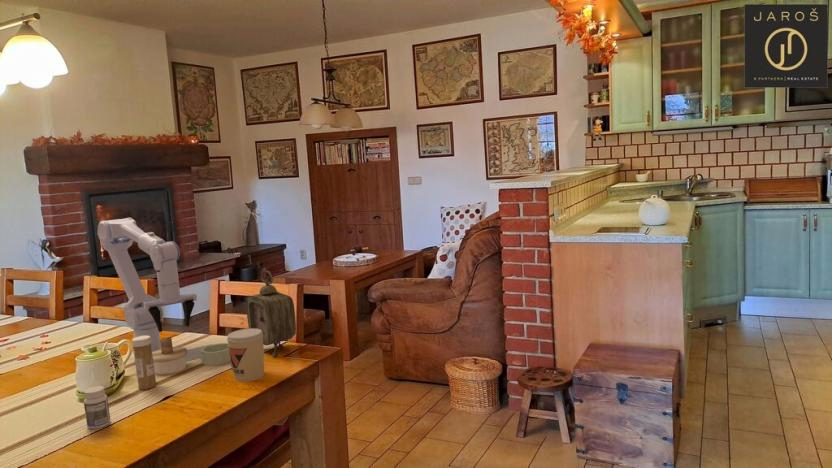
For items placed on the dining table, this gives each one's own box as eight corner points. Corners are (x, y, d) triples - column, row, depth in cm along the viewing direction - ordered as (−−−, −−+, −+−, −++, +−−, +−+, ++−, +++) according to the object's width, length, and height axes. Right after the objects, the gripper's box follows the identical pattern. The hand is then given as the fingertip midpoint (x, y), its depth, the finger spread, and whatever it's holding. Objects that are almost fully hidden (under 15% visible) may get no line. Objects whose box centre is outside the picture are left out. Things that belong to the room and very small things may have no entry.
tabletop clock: (250, 350, 185) (242, 270, 182) (277, 343, 190) (269, 265, 187) (273, 359, 174) (264, 275, 171) (300, 351, 180) (292, 269, 176)
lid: (146, 355, 173) (144, 338, 172) (185, 347, 178) (183, 331, 177) (149, 364, 164) (147, 347, 163) (189, 357, 168) (187, 339, 168)
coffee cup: (224, 378, 161) (219, 334, 159) (255, 368, 168) (250, 326, 166) (243, 385, 154) (238, 340, 153) (274, 374, 161) (269, 331, 160)
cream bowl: (149, 369, 172) (147, 356, 172) (181, 362, 177) (180, 349, 177) (156, 377, 165) (154, 363, 164) (190, 369, 170) (188, 355, 170)
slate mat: (176, 353, 186) (175, 352, 186) (211, 345, 193) (211, 344, 193) (186, 362, 177) (186, 361, 177) (223, 353, 183) (223, 352, 183)
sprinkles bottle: (158, 386, 158) (152, 337, 156) (139, 391, 155) (133, 341, 154) (155, 382, 162) (148, 333, 160) (136, 386, 159) (130, 337, 157)
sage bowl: (196, 363, 176) (194, 349, 175) (223, 354, 182) (221, 341, 182) (213, 368, 170) (211, 354, 169) (240, 358, 177) (239, 345, 176)
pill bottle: (92, 421, 138) (88, 386, 137) (114, 419, 138) (109, 384, 137) (83, 430, 133) (78, 394, 132) (105, 428, 134) (100, 392, 133)
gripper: (145, 289, 169) (150, 336, 170) (197, 281, 177) (202, 325, 179) (139, 286, 175) (145, 331, 176) (190, 278, 183) (195, 321, 184)
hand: (173, 328), depth 178 cm, fingers open, 7 cm apart
